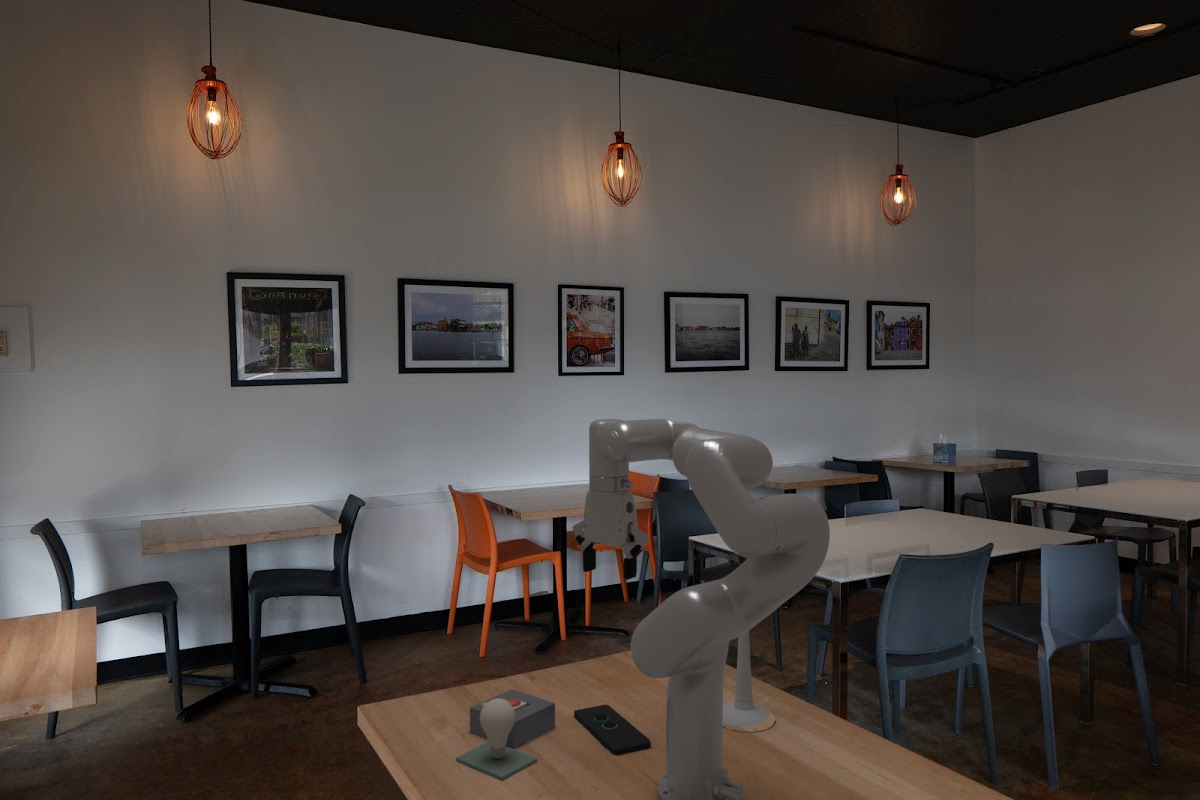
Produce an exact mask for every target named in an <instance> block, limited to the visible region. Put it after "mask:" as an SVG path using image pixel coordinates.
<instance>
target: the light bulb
mask: <svg viewBox="0 0 1200 800" xmlns="http://www.w3.org/2000/svg"><path fill="white" fill-rule="evenodd" d="M514 721H515V711H514V708H513V707H512V705H511V704H510V703H509V702H508V701H506V700H504V699H501V698H497V699H492V700H491V701H489V702H487V703H486V704H485V705H484V707H483V708H482V710H481V713H480V723H481V726H482V728H483V730H484V731H485V733H486V735H487V737H488V739H487V742H489V745H490V746H491V747H490V755H491V757H493V758H495V759H500V758H502V757H504V756H505V745H506V744H507V737H508V735H509V733H510V731H511V729H512V727H513V725H514Z"/></svg>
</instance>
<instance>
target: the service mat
mask: <svg viewBox="0 0 1200 800" xmlns="http://www.w3.org/2000/svg"><path fill="white" fill-rule="evenodd" d="M490 747H491V746H490V745H489V742H488V741H487V742H485V743H484V744H482V745H480V746H476V747H475V748H473V749H470V750H469V751H467V752H464V753H463V754H461V755H459V756H457V757H455V761H456V762H458V763H460V764H462V765H465V766H467V767H469V768H472V769H474V770H476V771H478V772H482V774H483V773H484V774H486V775H489V776H490V777H493V778H495V779H498V780H500V781H504V780H505V779H508V778H509V777H512V776H513V775H515V774H517V773H518V772H520V771H523V770H524V769H526V768H528V767H530V766H532V765H534V764H535V763H537V762H538V757H537V758H536V757H535V756H533V755H529V754H527V753H524V752H522V751H520V750H517V749H515V748H514V749H512V748H510V747H507V746H505V756H504V757H502V758H500V759H495V758H493V757H491V755H490Z"/></svg>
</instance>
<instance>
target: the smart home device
mask: <svg viewBox="0 0 1200 800" xmlns="http://www.w3.org/2000/svg"><path fill="white" fill-rule="evenodd" d="M573 717H574V719H575V720H577V722H578V723H579V724H581V726H582V727H584V728H585V729H586V731H588V733H589V734H591V735H592V736H593V737H594V738H595V739H596V740H597V741H598V742H599V743H600V744H601V745H602V746H603V747H604V748H605V749H606V750H608V751H609V753H610V754H612V755H614V756H616V757H617V756H621V755H626V754H630V753H635V752H638V751H639V752H640V751H643V750H648V749H651V748H652V747H651V746H652V745H651V743H652V742H651V740H650V739H649V738H648V737H647V736H646V735H645V734H644V733H642V732H641V731H640V730H639V729H638V728H637V727H635V726H634V725H633V724H631V723H630V722H629V721H628V720H627V719H626V718H624V717H623V716H622V715H621V714H620V713H618V711H616V709H614V708H613V707H612V706H610V705H609V704H600V705H596V706H592V707H591V706H590V707H587V708H586V707H585V708H581V709H576V710H573Z"/></svg>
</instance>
